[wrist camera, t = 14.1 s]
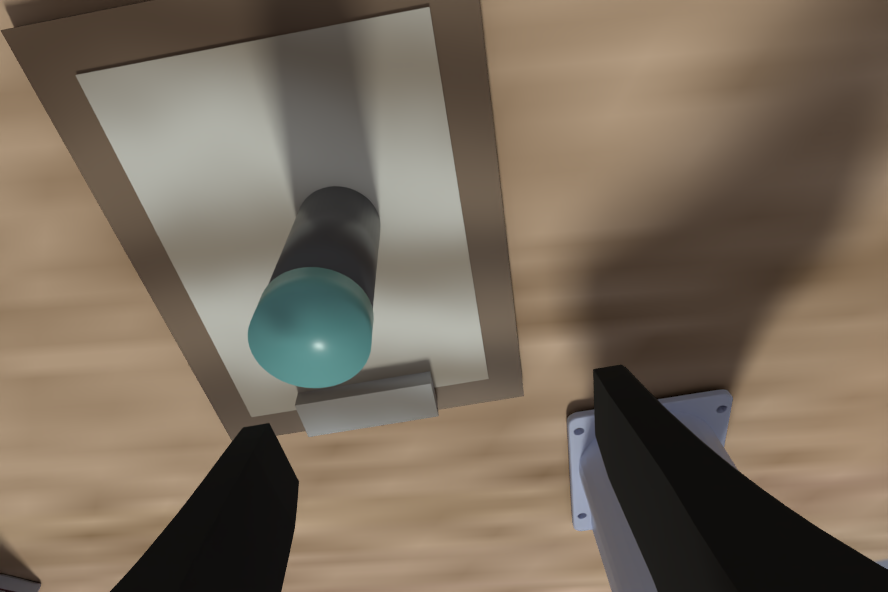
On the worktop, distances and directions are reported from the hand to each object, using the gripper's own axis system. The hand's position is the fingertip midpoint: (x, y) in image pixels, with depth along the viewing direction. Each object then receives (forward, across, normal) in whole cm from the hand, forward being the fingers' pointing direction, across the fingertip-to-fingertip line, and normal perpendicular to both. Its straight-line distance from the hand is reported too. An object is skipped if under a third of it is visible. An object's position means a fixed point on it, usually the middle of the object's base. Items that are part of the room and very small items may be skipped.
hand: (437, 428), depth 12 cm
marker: (+10, +3, -1) cm, 10 cm away
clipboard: (+10, +4, 0) cm, 11 cm away
